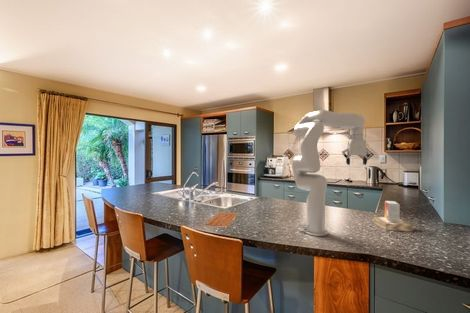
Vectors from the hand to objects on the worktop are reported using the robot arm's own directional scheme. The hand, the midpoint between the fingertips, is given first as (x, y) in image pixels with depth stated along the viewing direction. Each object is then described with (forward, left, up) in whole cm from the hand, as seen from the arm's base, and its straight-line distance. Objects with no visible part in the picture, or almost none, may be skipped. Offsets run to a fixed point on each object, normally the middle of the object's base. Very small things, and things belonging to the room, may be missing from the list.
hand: (356, 164), depth 141 cm
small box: (+17, -8, -32) cm, 37 cm away
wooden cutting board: (-85, -8, -37) cm, 93 cm away
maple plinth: (+17, -8, -36) cm, 41 cm away
